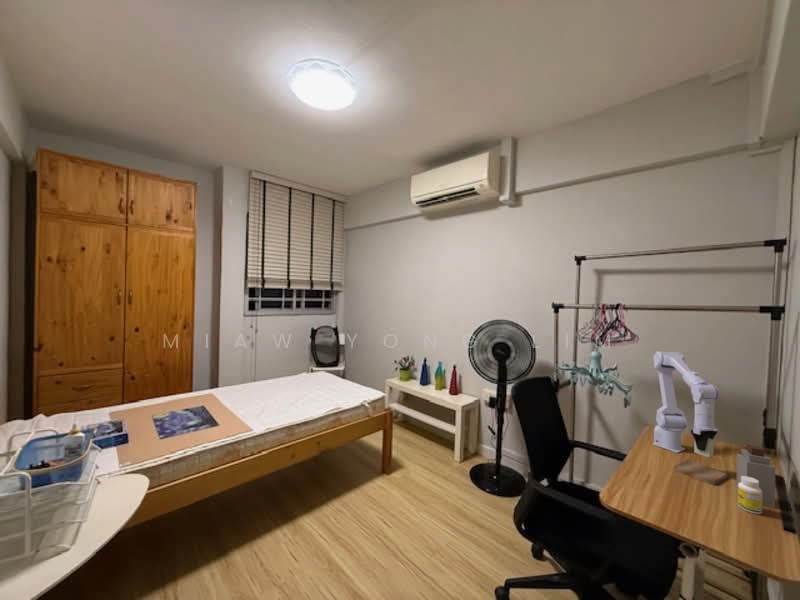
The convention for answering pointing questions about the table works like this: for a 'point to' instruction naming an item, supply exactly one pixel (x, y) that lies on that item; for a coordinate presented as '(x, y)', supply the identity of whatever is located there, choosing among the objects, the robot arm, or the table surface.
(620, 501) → the table surface
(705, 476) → the walnut base
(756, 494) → the supplement bottle
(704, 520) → the table surface
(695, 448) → the sage block
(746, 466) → the grey tall open box
